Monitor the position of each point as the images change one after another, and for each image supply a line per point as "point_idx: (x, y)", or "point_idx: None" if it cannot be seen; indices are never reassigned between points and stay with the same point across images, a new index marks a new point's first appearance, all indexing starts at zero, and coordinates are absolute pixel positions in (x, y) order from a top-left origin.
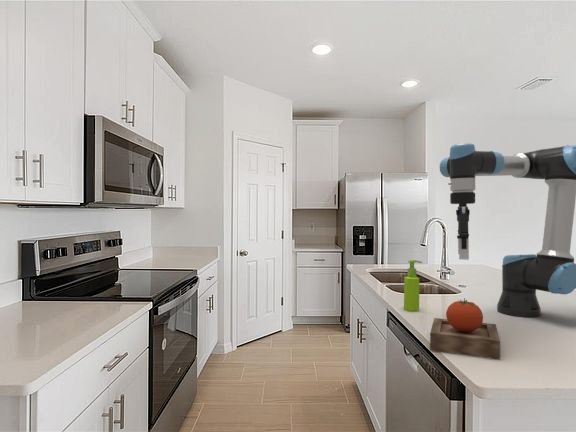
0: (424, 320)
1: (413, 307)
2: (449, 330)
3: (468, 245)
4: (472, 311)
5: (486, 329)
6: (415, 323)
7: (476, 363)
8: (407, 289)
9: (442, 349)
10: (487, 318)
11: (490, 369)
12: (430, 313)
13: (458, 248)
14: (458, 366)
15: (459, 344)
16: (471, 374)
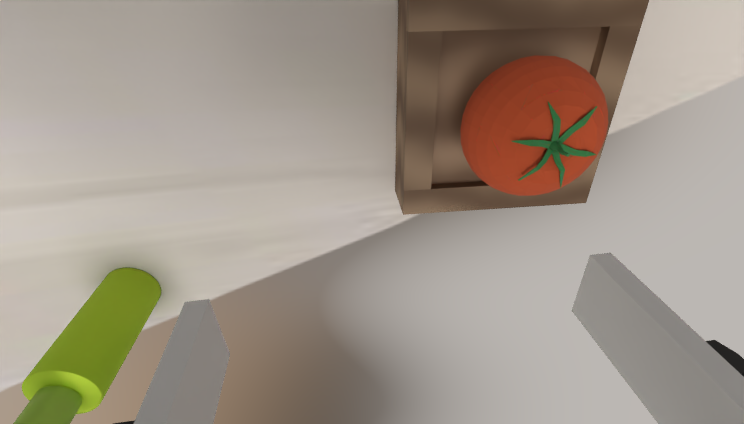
0: (256, 233)
1: (149, 288)
2: None
3: (725, 362)
4: (606, 106)
5: (453, 32)
6: (310, 249)
7: (647, 61)
8: (126, 356)
9: None
10: (38, 11)
11: (691, 22)
12: (140, 230)
13: (214, 405)
14: (671, 105)
15: None
16: (725, 72)
